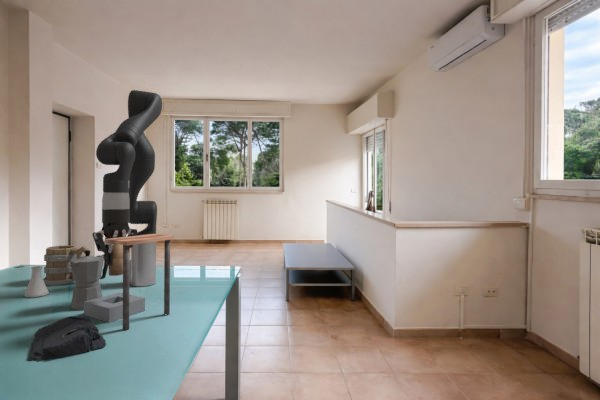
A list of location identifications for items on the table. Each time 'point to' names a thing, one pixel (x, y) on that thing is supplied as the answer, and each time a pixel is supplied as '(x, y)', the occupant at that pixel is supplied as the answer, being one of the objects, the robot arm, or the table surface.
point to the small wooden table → (126, 268)
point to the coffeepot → (87, 279)
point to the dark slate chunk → (66, 339)
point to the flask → (36, 284)
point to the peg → (116, 261)
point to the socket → (112, 307)
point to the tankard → (60, 264)
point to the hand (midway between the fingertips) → (115, 263)
